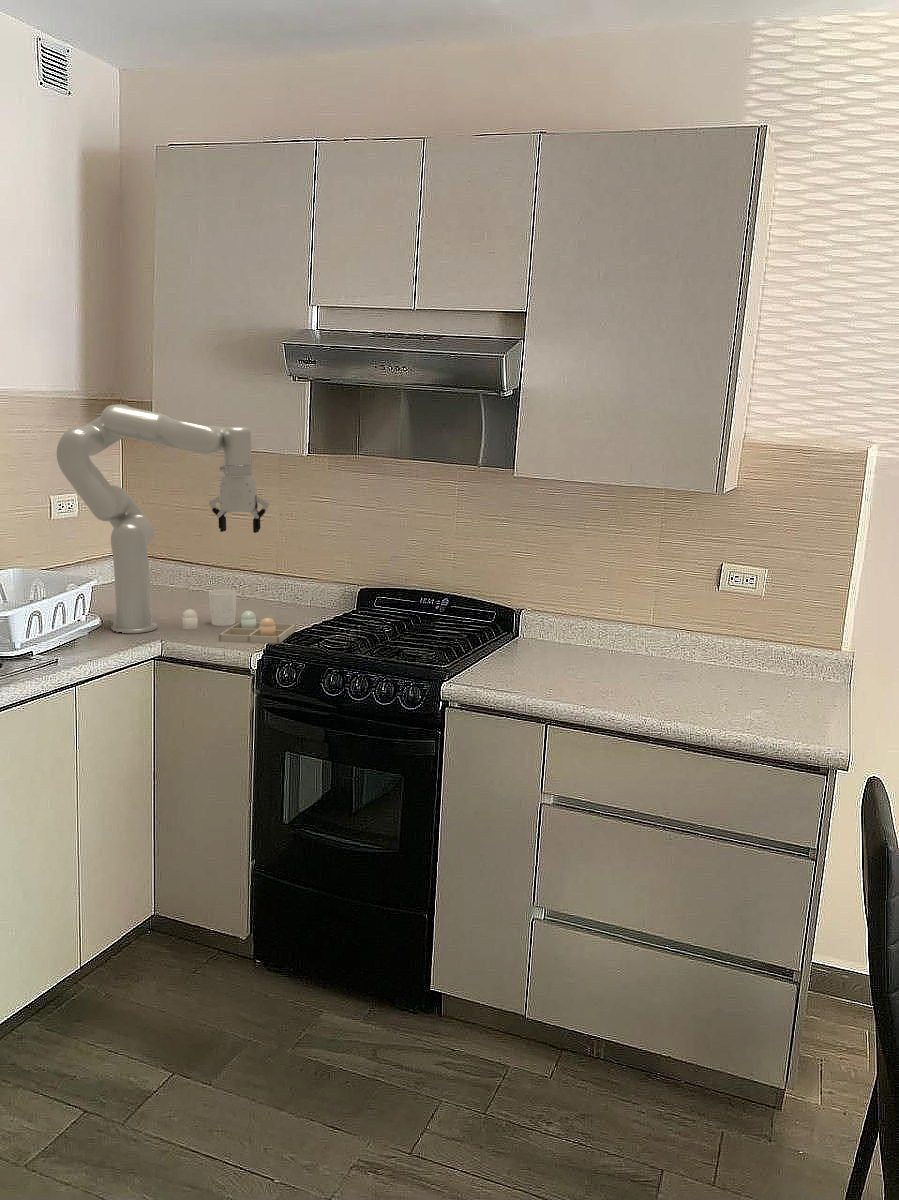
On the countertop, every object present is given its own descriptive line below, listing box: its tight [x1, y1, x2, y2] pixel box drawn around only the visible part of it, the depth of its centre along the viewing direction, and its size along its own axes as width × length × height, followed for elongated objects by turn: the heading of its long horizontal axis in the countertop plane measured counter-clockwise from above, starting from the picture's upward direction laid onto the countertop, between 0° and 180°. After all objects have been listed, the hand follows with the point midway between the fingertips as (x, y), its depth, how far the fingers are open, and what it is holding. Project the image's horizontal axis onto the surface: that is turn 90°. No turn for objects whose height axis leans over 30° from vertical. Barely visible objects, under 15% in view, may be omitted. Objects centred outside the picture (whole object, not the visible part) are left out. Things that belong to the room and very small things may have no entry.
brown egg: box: [259, 617, 276, 637], centre depth 289 cm, size 4×4×6 cm
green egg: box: [240, 610, 257, 629], centre depth 298 cm, size 4×4×6 cm
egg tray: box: [218, 621, 297, 645], centre depth 294 cm, size 17×17×2 cm
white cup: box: [208, 589, 237, 627], centre depth 309 cm, size 8×8×10 cm
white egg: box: [182, 608, 199, 631], centre depth 302 cm, size 4×4×6 cm
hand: (239, 531), depth 299 cm, fingers open, 9 cm apart
